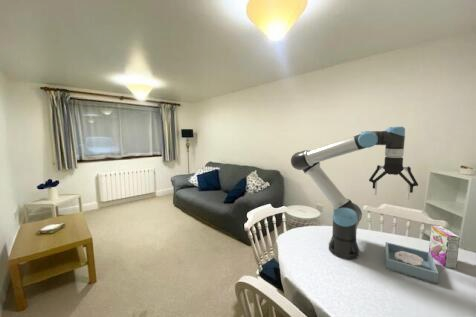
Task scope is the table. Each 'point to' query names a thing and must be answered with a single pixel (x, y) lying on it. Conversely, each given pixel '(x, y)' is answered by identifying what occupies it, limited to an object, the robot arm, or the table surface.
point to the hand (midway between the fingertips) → (391, 196)
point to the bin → (421, 272)
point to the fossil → (409, 258)
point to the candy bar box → (444, 246)
